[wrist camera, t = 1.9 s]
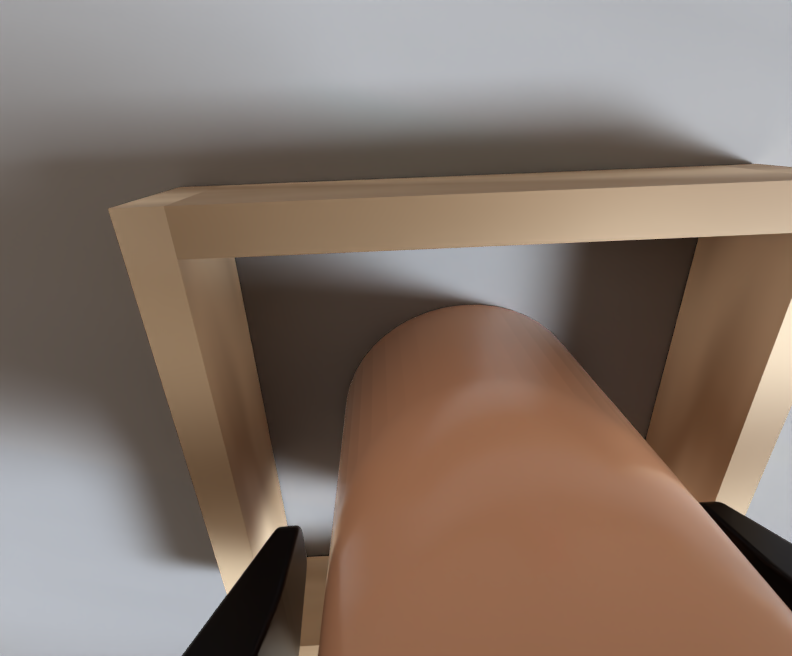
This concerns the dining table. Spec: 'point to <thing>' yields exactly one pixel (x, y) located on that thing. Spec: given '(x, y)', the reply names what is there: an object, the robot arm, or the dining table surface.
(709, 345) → the wooden square frame
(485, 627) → the pot
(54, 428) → the dining table surface
